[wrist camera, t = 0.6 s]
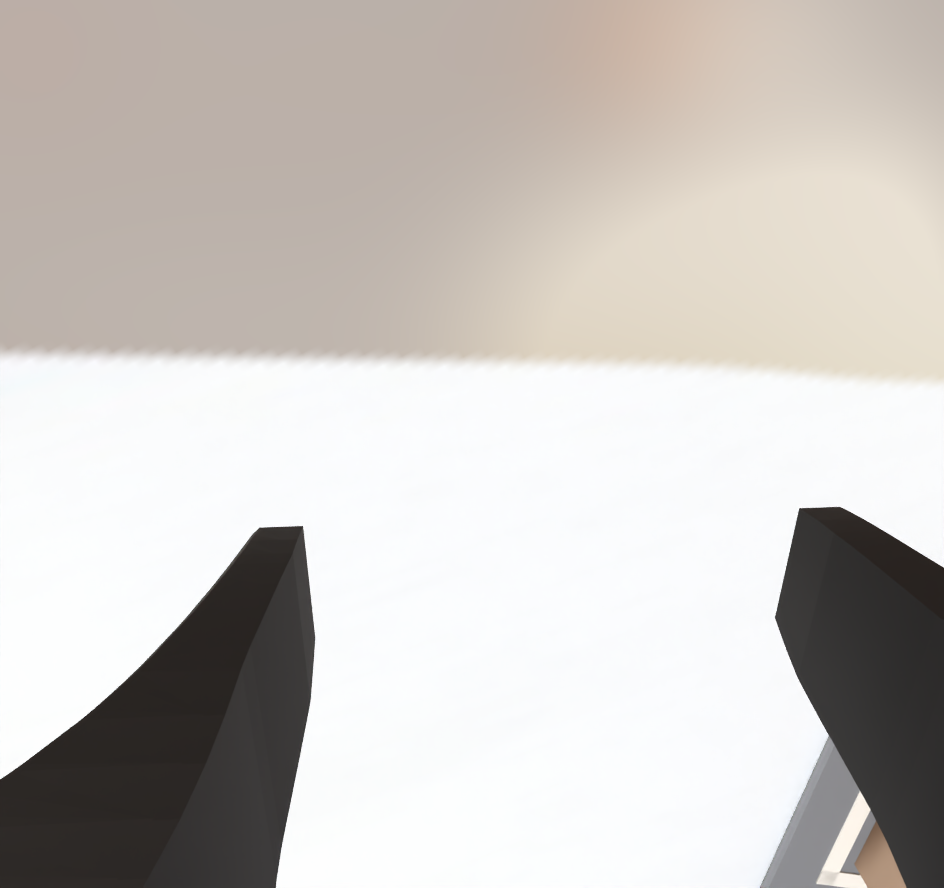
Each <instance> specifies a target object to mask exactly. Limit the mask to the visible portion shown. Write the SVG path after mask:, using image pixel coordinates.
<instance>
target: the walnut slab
mask: <svg viewBox="0 0 944 888" xmlns="http://www.w3.org/2000/svg"><path fill="white" fill-rule="evenodd" d="M855 866H856V868H857V870H858V872H859V873H860V875H861V877H862V879H863V880H864V882H865V884H866V886H867V888H906V885H905V883H904V881H903V878H902V876H901V874H900V871H899V869H898V867H897V864H896V862H895V860H894V857H893V855H892V853H891V850H890V848H889V846H888V844H887V841H886V839H885V837H884V835H883V833H882V831H881V829H880V827H879V825H878V823H877V821H876V822H875V824H874V826H873V828H872V830H871V832H870V834H869V836H868V838H867V840H866V842H865V844H864V846H863V848H862V850H861V852H860V854H859V856H858V858H857V860H856V862H855Z"/></svg>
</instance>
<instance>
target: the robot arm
mask: <svg viewBox="0 0 944 888" xmlns="http://www.w3.org/2000/svg"><path fill="white" fill-rule="evenodd" d="M775 619H776V622H777V625H778V627H779V630H780V633H781V636H782V638H783V641H784V644H785V647H786V650H787V652H788V655H789V657H790V660H791V662H792V665H793V667H794V670H795V672H796V675H797V677H798V679H799V681H800V683H801V685H802V687H803V689H804V691H805V692H806V694H807V696H808V698H809V700H810V702H811V704H812V705H813V707H814V709H815V711H816V713H817V715H818V716H819V718H820V720H821V722H822V724H823V726H824V727H825V729H826V731H827V733H828V734H829V736H830V738H831V740H832V742H833V743H834V745H835V747H836V749H837V751H838V752H839V754H840V756H841V758H842V760H843V761H844V763H845V765H846V767H847V768H848V770H849V772H850V774H851V776H852V777H853V779H854V781H855V783H856V785H857V786H858V788H859V790H860V792H861V794H862V795H863V797H864V799H865V801H866V803H867V804H868V806H869V808H870V810H871V812H872V814H873V816H874V818H875V820H876V821H877V823H878V825H879V827H880V829H881V831H882V833H883V835H884V837H885V839H886V841H887V844H888V846H889V848H890V850H891V853H892V855H893V857H894V860H895V862H896V864H897V867H898V869H899V871H900V874H901V876H902V878H903V881H904V883H905V885H906V888H944V568H943V567H942V566H940V565H938V564H937V563H935V562H933V561H932V560H930V559H928V558H927V557H925V556H924V555H922V554H920V553H919V552H917V551H915V550H914V549H912V548H910V547H909V546H907V545H906V544H904V543H902V542H901V541H899V540H897V539H896V538H894V537H893V536H891V535H889V534H888V533H886V532H884V531H883V530H881V529H879V528H878V527H876V526H874V525H872V524H871V523H869V522H867V521H866V520H864V519H862V518H860V517H858V516H857V515H855V514H853V513H851V512H849V511H847V510H845V509H843V508H841V507H826V508H799V512H798V517H797V521H796V526H795V530H794V535H793V539H792V544H791V548H790V553H789V557H788V562H787V566H786V571H785V576H784V580H783V585H782V589H781V594H780V598H779V603H778V607H777V612H776V616H775ZM314 647H315V632H314V623H313V614H312V605H311V596H310V587H309V577H308V568H307V559H306V550H305V541H304V532H303V526H295V527H267V528H259V529H258V530H257V531H256V532H255V533H254V534H253V535H252V536H251V537H250V538H249V540H248V541H247V542H246V544H245V545H244V546H243V548H242V549H241V550H240V552H239V553H238V554H237V556H236V557H235V558H234V560H233V561H232V562H231V564H230V565H229V566H228V568H227V569H226V570H225V571H224V573H223V574H222V575H221V576H220V578H219V579H218V580H217V581H216V583H215V584H214V585H213V587H212V588H211V589H210V590H209V591H208V592H207V594H206V595H205V596H204V597H203V598H202V600H201V601H200V602H199V603H198V604H197V605H196V607H195V608H194V609H193V610H192V611H191V613H190V614H189V615H188V616H187V617H186V618H185V620H184V621H183V622H182V623H181V624H180V625H179V626H178V627H177V629H176V630H175V631H174V632H173V633H172V634H171V635H170V636H169V637H168V638H167V639H166V640H165V641H164V642H163V643H162V644H161V645H160V646H159V647H158V649H157V650H156V651H155V652H154V653H153V654H152V655H151V656H150V657H149V658H148V659H147V660H146V661H145V662H144V663H143V664H142V665H141V666H140V667H139V668H138V669H137V670H136V671H135V672H134V673H133V674H132V675H131V676H130V677H129V678H128V679H127V680H126V681H125V682H124V683H123V684H121V685H120V686H119V687H118V688H117V689H116V690H115V691H114V692H113V693H112V694H111V695H109V696H108V697H107V698H106V699H105V700H104V701H103V702H101V703H100V704H99V705H98V706H97V707H96V708H95V709H94V710H92V711H91V712H90V713H89V714H88V715H86V716H85V717H84V718H83V719H81V720H80V721H79V722H78V723H76V724H75V725H74V726H72V727H71V728H70V729H68V730H67V731H66V732H64V733H63V734H62V735H60V736H59V737H58V738H56V739H55V740H54V741H52V742H51V743H50V744H49V745H47V746H46V747H45V748H43V749H42V750H41V751H39V752H38V753H37V754H35V755H34V756H33V757H31V758H30V759H29V760H27V761H26V762H25V763H23V764H22V765H21V766H19V767H18V768H16V769H15V770H14V771H12V772H11V773H9V774H8V775H6V776H5V777H3V778H2V779H0V888H276V879H277V873H278V866H279V860H280V853H281V847H282V842H283V837H284V832H285V827H286V822H287V817H288V812H289V807H290V802H291V797H292V792H293V787H294V782H295V777H296V772H297V767H298V762H299V757H300V752H301V747H302V742H303V737H304V732H305V727H306V722H307V716H308V711H309V706H310V700H311V687H312V675H313V661H314Z"/></svg>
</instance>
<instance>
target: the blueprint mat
mask: <svg viewBox="0 0 944 888" xmlns="http://www.w3.org/2000/svg"><path fill="white" fill-rule="evenodd" d="M875 822H876V820H875V818H874V816H873V814H872V812H871V810H870V808H869V806H868V804H867V803H866V801H865V799H864V797H863V795H862V794H861V792H860V790H859V788H858V786H857V785H856V783H855V781H854V779H853V777H852V776H851V774H850V772H849V770H848V768H847V767H846V765H845V763H844V761H843V760H842V758H841V756H840V754H839V752H838V751H837V749H836V747H835V745H834V743H833V742H832V740H831V738H830V736H829V737H828V740H827V742H826V744H825V746H824V748H823V751H822V753H821V755H820V757H819V759H818V762H817V764H816V766H815V768H814V770H813V773H812V775H811V777H810V779H809V781H808V784H807V786H806V788H805V790H804V792H803V795H802V797H801V799H800V801H799V803H798V806H797V808H796V810H795V812H794V814H793V817H792V819H791V821H790V823H789V825H788V828H787V830H786V832H785V834H784V836H783V839H782V841H781V843H780V845H779V847H778V850H777V852H776V854H775V856H774V858H773V861H772V863H771V865H770V867H769V869H768V872H767V874H766V876H765V878H764V880H763V883H762V885H761V887H760V888H867V886H866V884H865V882H864V880H863V879H862V877H861V875H860V873H859V872H858V870H857V868H856V866H855V862H856V860H857V858H858V856H859V854H860V852H861V850H862V848H863V846H864V844H865V842H866V840H867V838H868V836H869V834H870V832H871V830H872V828H873V826H874V824H875Z"/></svg>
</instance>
